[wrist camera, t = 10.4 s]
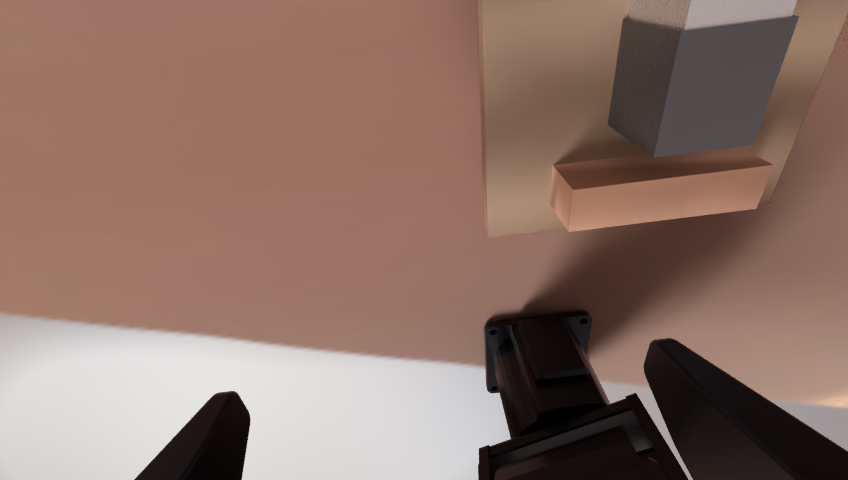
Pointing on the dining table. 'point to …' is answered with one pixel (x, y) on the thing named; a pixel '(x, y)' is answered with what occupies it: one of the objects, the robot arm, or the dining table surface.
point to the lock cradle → (602, 145)
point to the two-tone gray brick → (698, 72)
